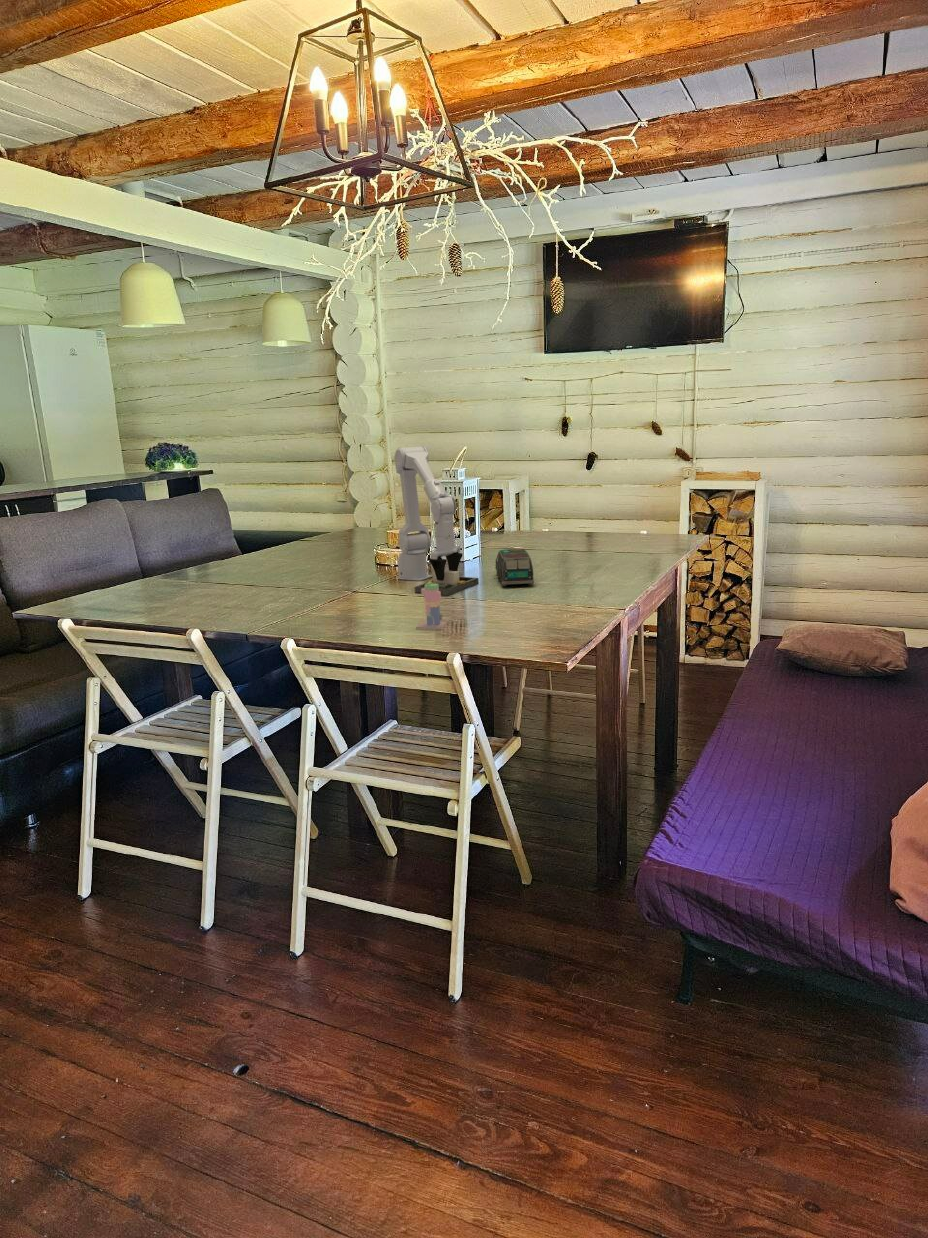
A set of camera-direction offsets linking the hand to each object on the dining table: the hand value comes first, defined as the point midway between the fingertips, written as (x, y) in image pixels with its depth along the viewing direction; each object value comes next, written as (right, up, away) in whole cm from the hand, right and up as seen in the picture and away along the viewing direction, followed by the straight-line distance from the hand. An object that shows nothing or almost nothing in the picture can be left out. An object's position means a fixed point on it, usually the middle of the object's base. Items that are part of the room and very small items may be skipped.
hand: (446, 578), depth 269 cm
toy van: (+22, -1, +9) cm, 24 cm away
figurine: (-3, -15, -45) cm, 48 cm away
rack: (0, -3, +1) cm, 3 cm away
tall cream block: (0, -3, +1) cm, 3 cm away
